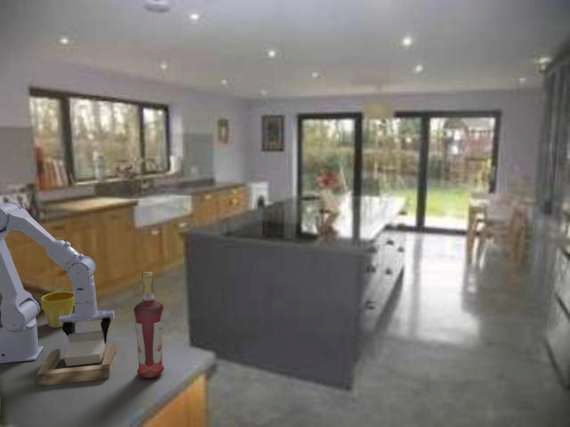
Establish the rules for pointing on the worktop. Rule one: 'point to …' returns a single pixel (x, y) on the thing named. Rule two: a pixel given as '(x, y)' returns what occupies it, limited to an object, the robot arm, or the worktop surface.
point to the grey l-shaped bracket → (85, 348)
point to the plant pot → (57, 306)
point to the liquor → (149, 331)
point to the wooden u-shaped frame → (74, 369)
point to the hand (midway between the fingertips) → (89, 344)
